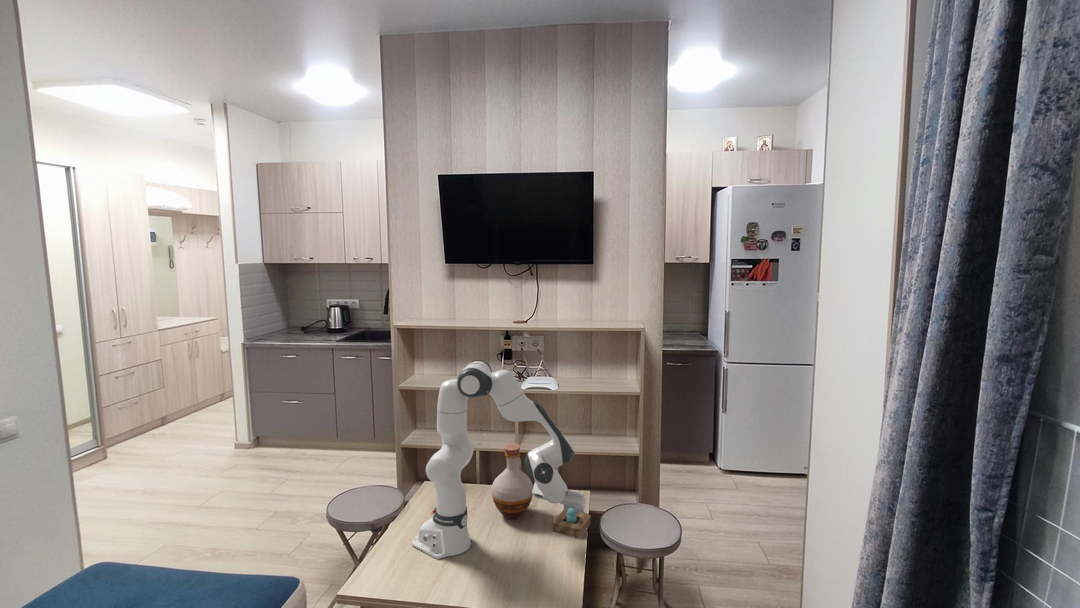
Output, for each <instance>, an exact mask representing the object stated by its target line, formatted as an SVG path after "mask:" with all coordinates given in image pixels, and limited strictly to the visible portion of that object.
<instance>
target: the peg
mask: <svg viewBox="0 0 1080 608" xmlns="http://www.w3.org/2000/svg"><path fill="white" fill-rule="evenodd" d="M567 522H569V523H573V524H577V512H576V510H575V509H574V508H569V509H568V510H567Z"/></svg>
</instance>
